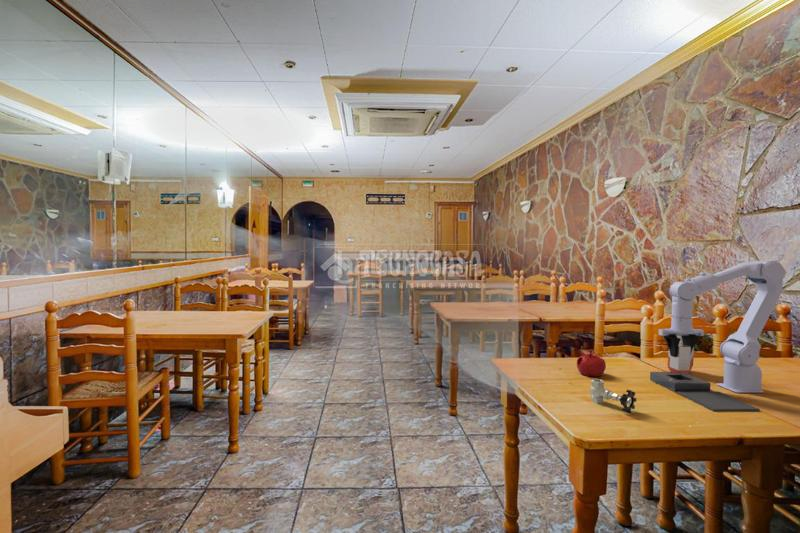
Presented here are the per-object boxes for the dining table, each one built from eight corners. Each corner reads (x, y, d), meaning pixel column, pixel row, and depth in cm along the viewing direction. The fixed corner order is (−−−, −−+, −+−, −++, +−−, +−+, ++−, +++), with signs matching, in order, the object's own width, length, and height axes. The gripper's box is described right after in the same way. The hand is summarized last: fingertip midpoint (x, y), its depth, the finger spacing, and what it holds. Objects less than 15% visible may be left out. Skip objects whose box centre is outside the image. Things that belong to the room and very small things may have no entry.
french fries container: (666, 372, 149) (668, 326, 148) (679, 368, 155) (681, 323, 154) (679, 376, 145) (681, 328, 144) (693, 371, 151) (695, 325, 150)
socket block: (682, 380, 141) (682, 371, 141) (710, 392, 129) (710, 383, 129) (650, 380, 140) (650, 371, 140) (674, 392, 128) (675, 383, 128)
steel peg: (680, 366, 136) (681, 344, 136) (689, 370, 132) (690, 346, 132) (669, 366, 136) (670, 344, 136) (678, 370, 132) (679, 346, 132)
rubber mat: (718, 393, 128) (718, 391, 128) (759, 411, 114) (759, 408, 114) (677, 393, 127) (677, 391, 127) (713, 411, 113) (713, 409, 113)
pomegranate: (609, 374, 146) (610, 350, 146) (599, 380, 139) (600, 354, 139) (582, 368, 153) (583, 345, 153) (571, 373, 147) (572, 349, 146)
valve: (584, 401, 120) (623, 415, 110) (584, 380, 120) (624, 392, 109) (596, 397, 123) (636, 411, 113) (597, 376, 123) (637, 388, 113)
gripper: (693, 315, 138) (691, 353, 138) (653, 314, 137) (651, 353, 138) (709, 318, 131) (707, 358, 131) (667, 318, 130) (665, 358, 131)
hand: (680, 356), depth 134 cm, fingers closed on steel peg, 4 cm apart
